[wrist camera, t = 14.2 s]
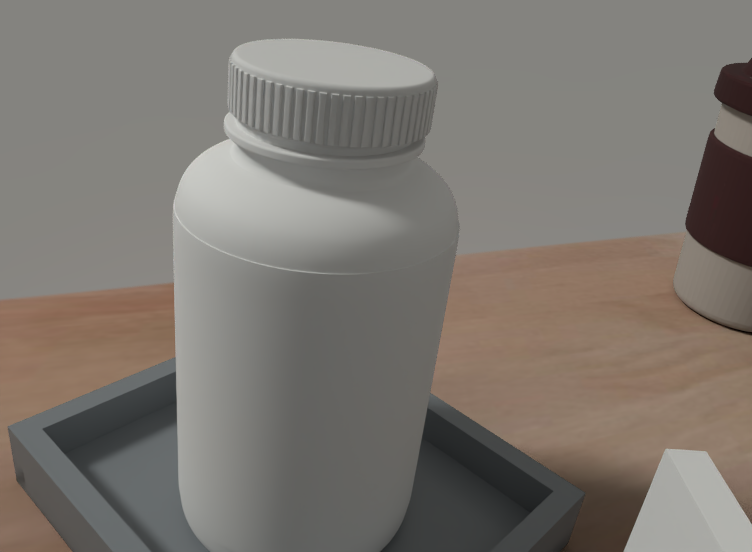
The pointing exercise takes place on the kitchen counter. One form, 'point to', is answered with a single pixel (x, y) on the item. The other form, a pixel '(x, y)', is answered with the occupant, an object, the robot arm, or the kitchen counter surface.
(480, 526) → the tray
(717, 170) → the coffee cup
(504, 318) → the kitchen counter surface
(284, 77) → the pill bottle
